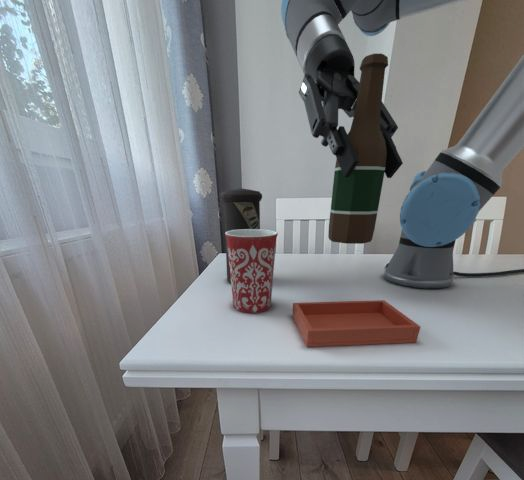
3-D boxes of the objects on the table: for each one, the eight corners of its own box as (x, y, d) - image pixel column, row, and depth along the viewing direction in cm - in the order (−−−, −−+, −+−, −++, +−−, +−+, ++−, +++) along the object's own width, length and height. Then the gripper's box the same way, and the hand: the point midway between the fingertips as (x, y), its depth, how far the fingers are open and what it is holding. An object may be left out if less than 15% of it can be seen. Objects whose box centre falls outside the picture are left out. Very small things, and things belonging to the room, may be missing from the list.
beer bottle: (318, 238, 54) (334, 62, 42) (353, 236, 57) (377, 69, 45) (344, 245, 48) (371, 40, 36) (382, 242, 50) (418, 50, 39)
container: (255, 287, 68) (254, 188, 58) (219, 284, 70) (213, 188, 60) (266, 278, 75) (267, 188, 65) (234, 275, 77) (230, 188, 68)
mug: (280, 313, 53) (282, 235, 47) (230, 316, 52) (226, 236, 46) (268, 292, 64) (269, 226, 58) (227, 294, 63) (223, 227, 57)
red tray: (381, 313, 54) (384, 300, 52) (416, 342, 44) (420, 326, 42) (292, 316, 52) (292, 302, 51) (306, 347, 42) (308, 331, 41)
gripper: (361, 93, 56) (407, 190, 51) (263, 80, 49) (304, 189, 44) (387, 44, 49) (443, 150, 44) (278, 20, 43) (328, 142, 37)
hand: (373, 169), depth 44 cm, fingers closed on beer bottle, 7 cm apart
